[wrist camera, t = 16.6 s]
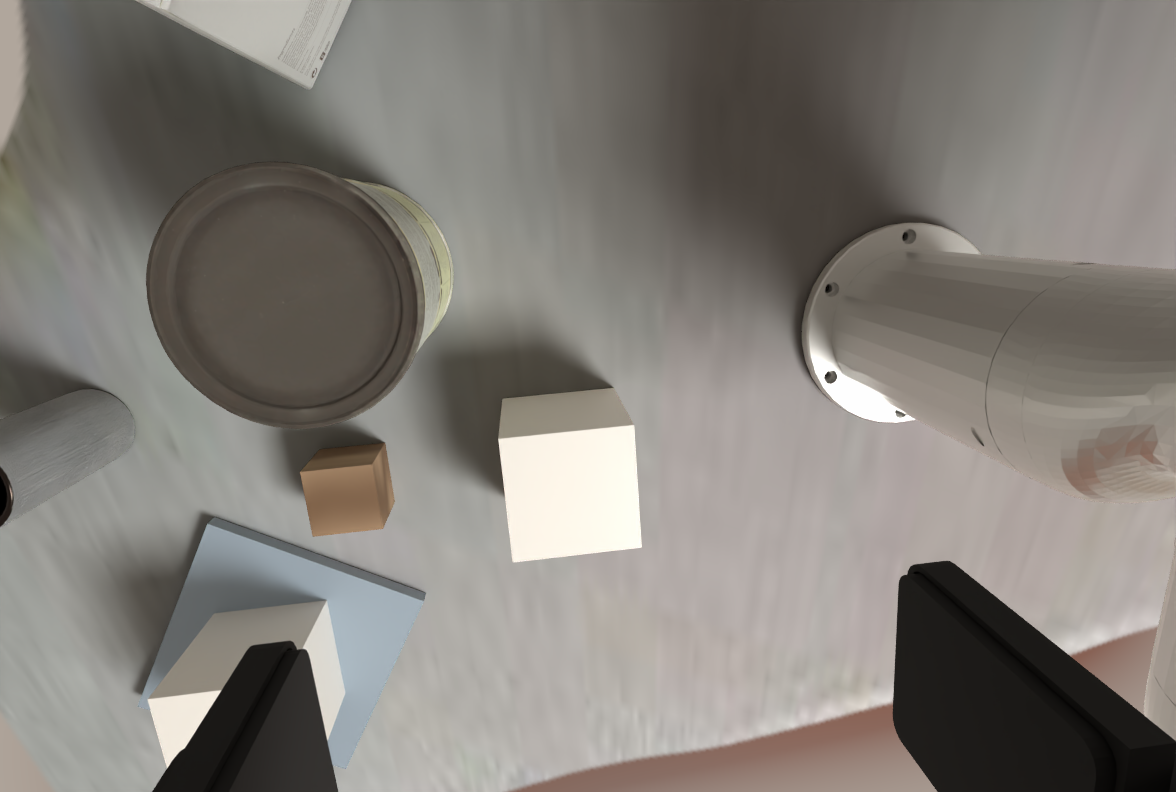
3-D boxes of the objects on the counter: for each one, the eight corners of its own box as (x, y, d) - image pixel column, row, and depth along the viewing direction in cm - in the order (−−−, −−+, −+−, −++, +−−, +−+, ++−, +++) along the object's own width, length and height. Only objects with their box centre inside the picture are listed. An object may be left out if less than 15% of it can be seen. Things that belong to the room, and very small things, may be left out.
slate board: (425, 593, 45) (423, 601, 44) (349, 758, 48) (345, 769, 47) (214, 516, 43) (207, 523, 42) (145, 696, 45) (137, 706, 44)
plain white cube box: (502, 398, 42) (498, 438, 35) (613, 387, 43) (634, 425, 35) (514, 502, 44) (512, 562, 37) (620, 490, 45) (641, 547, 37)
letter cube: (319, 448, 42) (300, 471, 38) (385, 442, 43) (372, 464, 39) (331, 510, 43) (313, 538, 40) (395, 503, 44) (383, 531, 40)
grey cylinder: (94, 475, 41) (-42, 556, 31) (37, 416, 40) (-122, 481, 30) (153, 433, 41) (35, 502, 31) (97, 373, 40) (-44, 425, 30)
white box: (214, 613, 43) (147, 699, 35) (326, 600, 44) (285, 682, 36) (237, 706, 45) (178, 808, 37) (345, 693, 46) (309, 790, 38)
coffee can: (377, 394, 42) (308, 479, 28) (236, 275, 39) (86, 305, 26) (492, 271, 40) (478, 298, 27) (355, 140, 38) (262, 97, 24)
